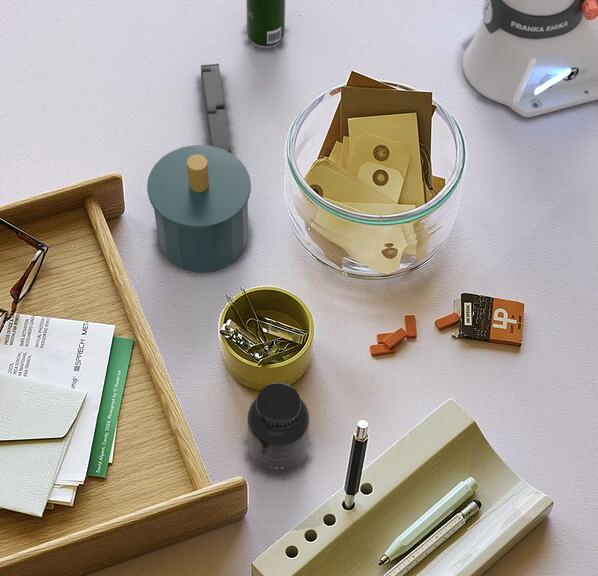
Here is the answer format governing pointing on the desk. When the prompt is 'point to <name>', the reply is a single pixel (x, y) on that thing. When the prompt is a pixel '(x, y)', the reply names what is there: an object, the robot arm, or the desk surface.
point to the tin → (203, 243)
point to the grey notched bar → (215, 107)
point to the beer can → (265, 22)
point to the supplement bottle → (278, 429)
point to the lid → (199, 186)
